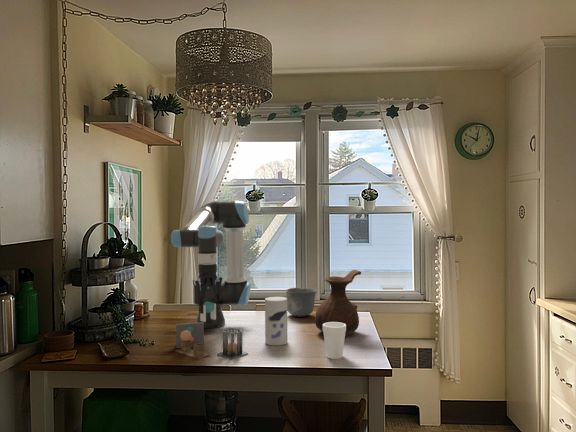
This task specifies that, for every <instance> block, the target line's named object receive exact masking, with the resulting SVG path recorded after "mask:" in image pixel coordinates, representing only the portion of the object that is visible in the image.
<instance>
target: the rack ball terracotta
mask: <svg viewBox="0 0 576 432" xmlns="http://www.w3.org/2000/svg"><path fill="white" fill-rule="evenodd" d="M180 337H181V339H182V340H183V341H189V340H190V339H191V332H190V331H188V330H185V331H183V332H182V333H181V335H180Z"/></svg>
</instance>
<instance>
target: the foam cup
mask: <svg viewBox="0 0 576 432" xmlns="http://www.w3.org/2000/svg"><path fill="white" fill-rule="evenodd" d="M345 332H346V324H344V323H340V322H327V323H324V324H323V332H322V333H323V339H324V346H325V353H326V358H328V359H331V360H334V359H335V360H339V359H342V358H343V356H344V346H345V338H346V336H345Z"/></svg>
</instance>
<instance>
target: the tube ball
mask: <svg viewBox="0 0 576 432" xmlns="http://www.w3.org/2000/svg"><path fill="white" fill-rule="evenodd" d="M227 350H228V352H229V353H231V342H228V346H227ZM236 352H237V342H235V341H234V342H233V353H236Z"/></svg>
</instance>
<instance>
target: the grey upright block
mask: <svg viewBox="0 0 576 432" xmlns="http://www.w3.org/2000/svg"><path fill="white" fill-rule="evenodd" d="M185 330H188V331H190V332H191V339H190V340H191V348H194V344H198V343H201V344H204V345H205V328H204V322H202V323H196V322H188V323H186V322H185V323H175V348H177V349H179V348H180V349H181V341H182V339H181V337H180V335H181V333H182V332H183V331H185Z"/></svg>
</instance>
